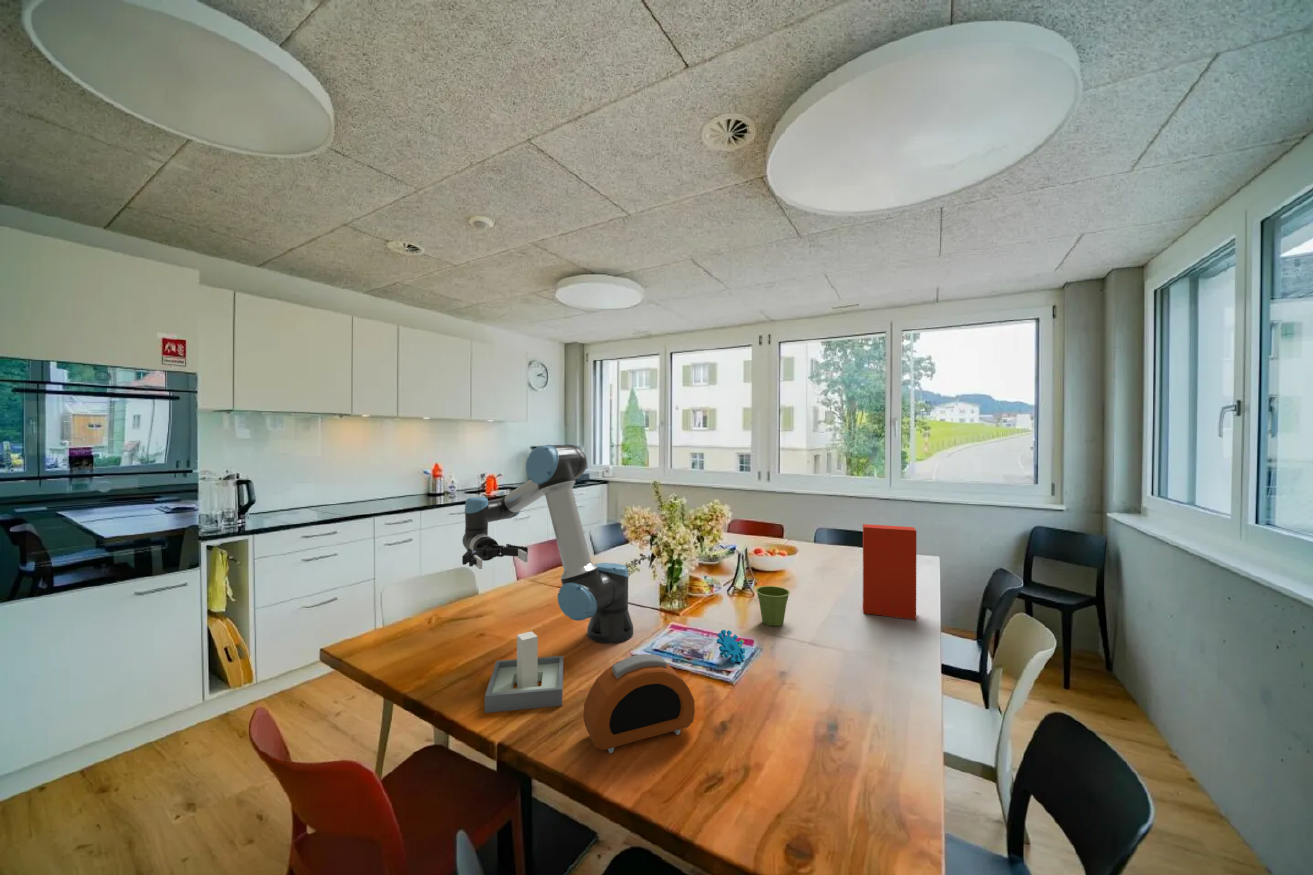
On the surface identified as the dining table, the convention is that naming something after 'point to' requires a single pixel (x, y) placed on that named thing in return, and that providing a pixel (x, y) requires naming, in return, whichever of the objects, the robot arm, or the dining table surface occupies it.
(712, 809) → the dining table surface
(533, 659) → the peg
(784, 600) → the plant pot
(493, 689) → the bore box
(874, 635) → the dining table surface
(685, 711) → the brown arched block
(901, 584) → the file binder
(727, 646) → the gear
